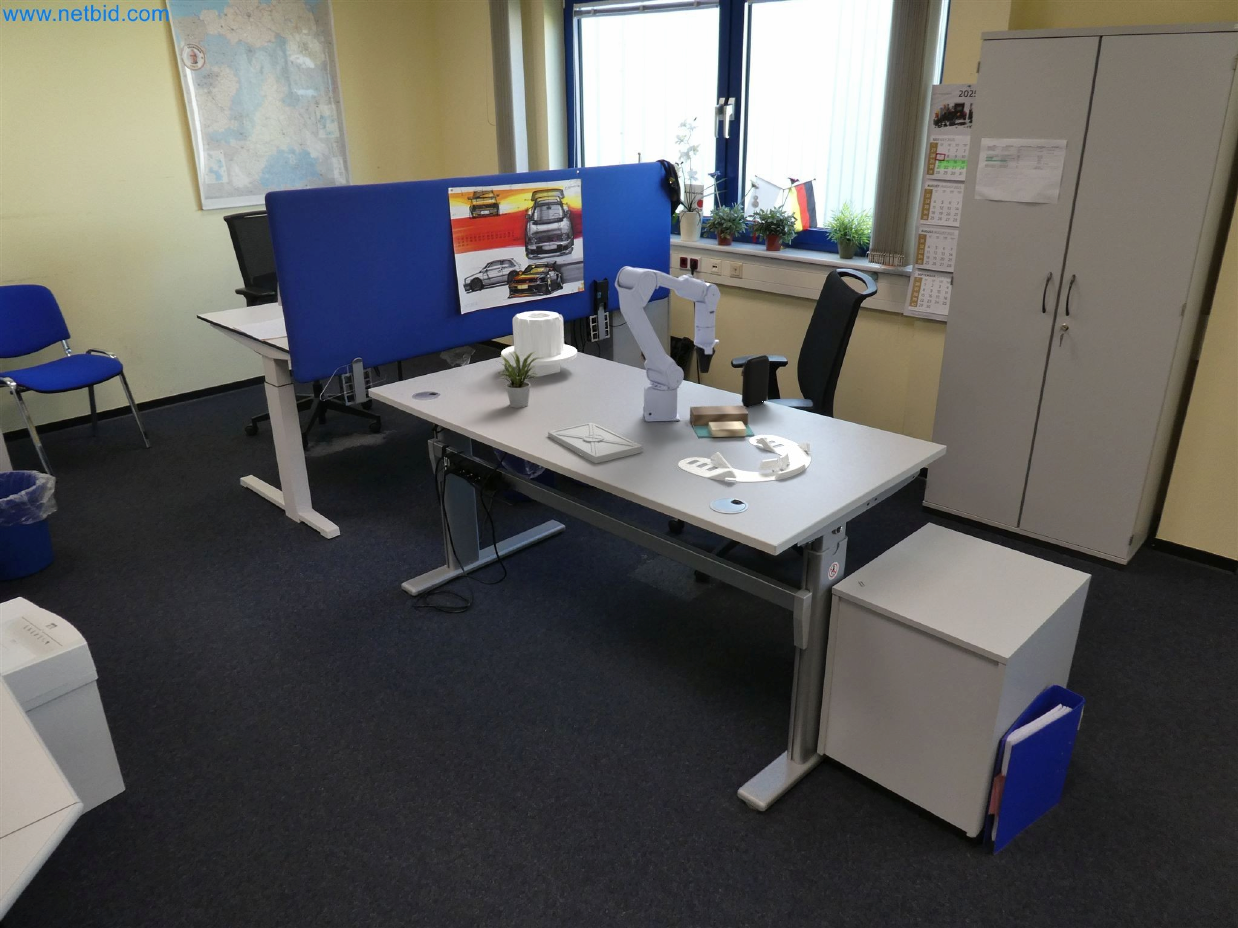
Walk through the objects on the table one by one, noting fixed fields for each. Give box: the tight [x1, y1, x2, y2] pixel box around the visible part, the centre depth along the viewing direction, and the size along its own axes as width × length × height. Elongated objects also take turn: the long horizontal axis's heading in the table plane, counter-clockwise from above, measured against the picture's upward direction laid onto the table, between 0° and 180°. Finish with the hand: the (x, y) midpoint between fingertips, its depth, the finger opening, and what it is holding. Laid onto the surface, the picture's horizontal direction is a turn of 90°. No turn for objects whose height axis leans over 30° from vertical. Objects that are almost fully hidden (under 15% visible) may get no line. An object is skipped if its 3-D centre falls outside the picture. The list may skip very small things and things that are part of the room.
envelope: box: [547, 422, 643, 464], centre depth 222 cm, size 24×2×14 cm
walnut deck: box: [689, 404, 749, 428], centre depth 237 cm, size 15×7×4 cm, turn 94°
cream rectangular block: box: [709, 421, 747, 438], centre depth 228 cm, size 9×6×2 cm, turn 94°
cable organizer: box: [678, 434, 812, 483], centre depth 210 cm, size 35×24×3 cm
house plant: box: [496, 351, 540, 409], centre depth 250 cm, size 14×14×16 cm
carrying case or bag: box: [740, 354, 770, 409], centre depth 248 cm, size 11×3×15 cm, turn 128°
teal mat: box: [693, 424, 755, 438], centre depth 230 cm, size 15×8×1 cm, turn 94°
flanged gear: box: [500, 310, 578, 378], centre depth 283 cm, size 25×25×19 cm
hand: (704, 372), depth 246 cm, fingers closed
